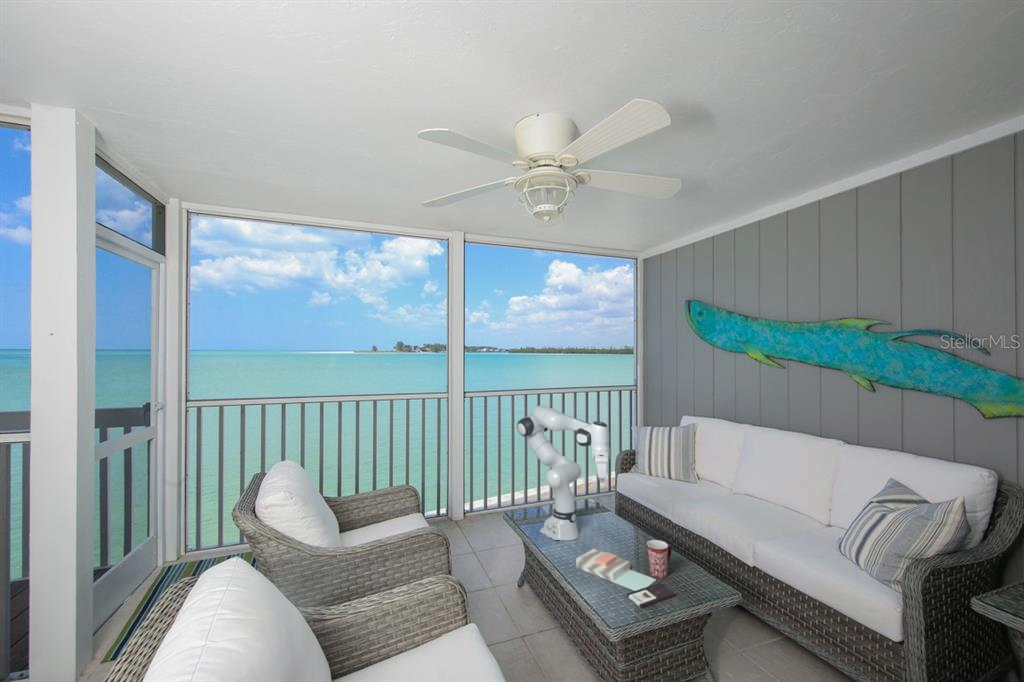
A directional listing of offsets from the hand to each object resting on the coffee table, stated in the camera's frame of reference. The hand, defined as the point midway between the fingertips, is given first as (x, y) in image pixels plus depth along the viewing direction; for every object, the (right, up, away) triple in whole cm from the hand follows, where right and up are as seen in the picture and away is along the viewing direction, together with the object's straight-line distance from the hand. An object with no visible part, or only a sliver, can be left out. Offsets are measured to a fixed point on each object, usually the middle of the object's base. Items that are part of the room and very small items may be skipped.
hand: (601, 483), depth 216 cm
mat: (+9, -35, -24) cm, 44 cm away
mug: (+23, -35, -18) cm, 46 cm away
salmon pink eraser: (-1, -32, -14) cm, 35 cm away
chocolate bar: (+13, -35, -37) cm, 52 cm away
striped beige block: (-2, -36, -13) cm, 38 cm away
